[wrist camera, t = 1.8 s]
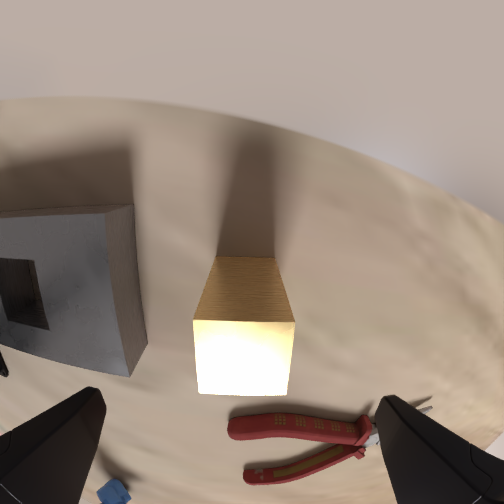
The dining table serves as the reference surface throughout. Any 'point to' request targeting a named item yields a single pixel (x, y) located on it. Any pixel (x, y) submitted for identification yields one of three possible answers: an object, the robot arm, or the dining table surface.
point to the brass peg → (243, 329)
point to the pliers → (308, 428)
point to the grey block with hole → (73, 286)
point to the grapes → (113, 493)
